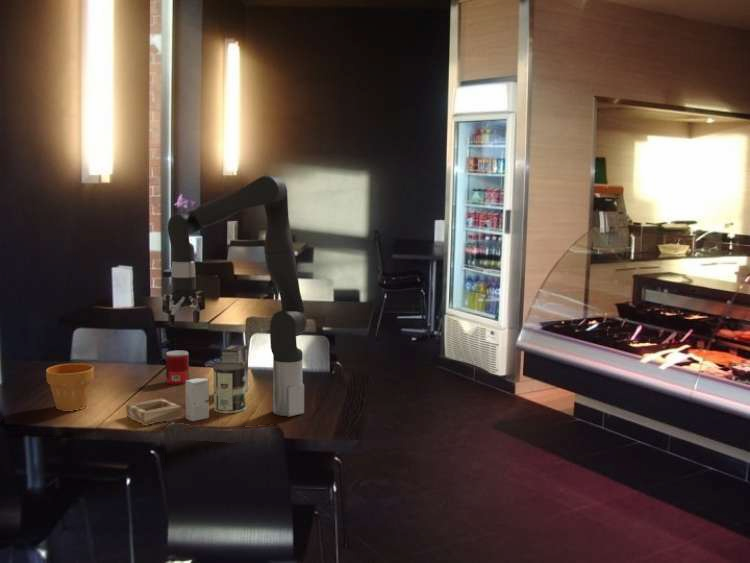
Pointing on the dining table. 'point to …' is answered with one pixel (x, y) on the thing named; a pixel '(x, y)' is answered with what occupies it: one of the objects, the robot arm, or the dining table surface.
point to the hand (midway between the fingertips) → (184, 324)
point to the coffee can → (229, 387)
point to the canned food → (177, 367)
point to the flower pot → (70, 384)
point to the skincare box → (197, 399)
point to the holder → (154, 411)
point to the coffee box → (237, 357)
